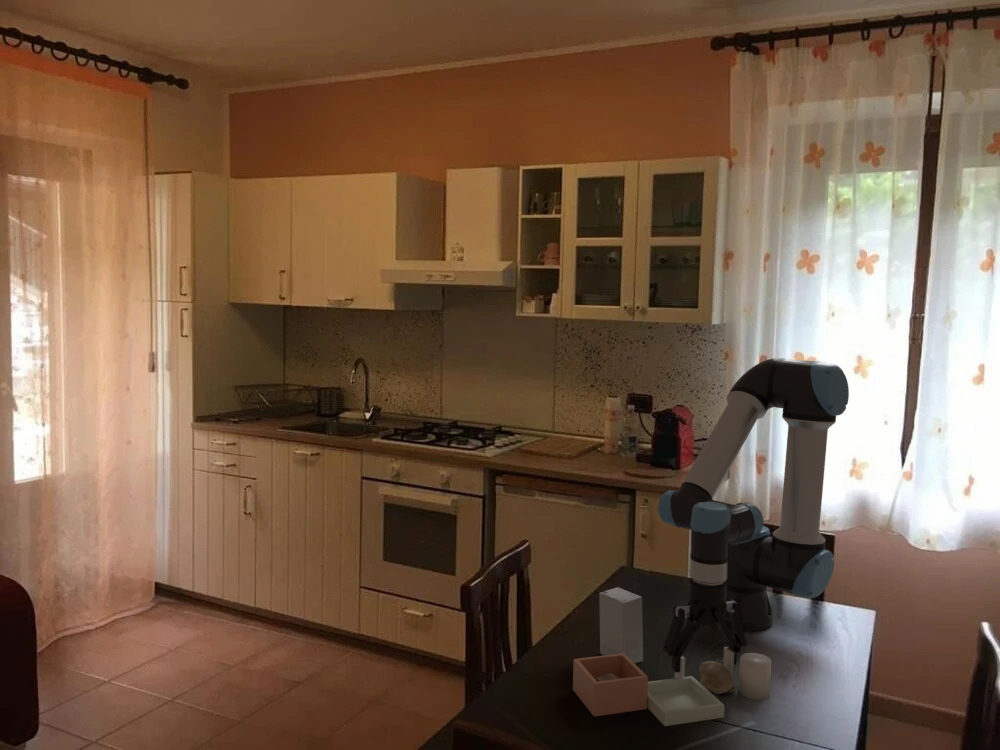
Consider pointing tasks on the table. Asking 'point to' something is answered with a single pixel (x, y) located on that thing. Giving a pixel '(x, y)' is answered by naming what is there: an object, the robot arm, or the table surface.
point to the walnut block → (606, 677)
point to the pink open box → (610, 684)
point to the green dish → (682, 701)
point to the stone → (716, 678)
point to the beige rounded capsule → (754, 676)
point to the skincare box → (621, 624)
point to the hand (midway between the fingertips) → (703, 682)
